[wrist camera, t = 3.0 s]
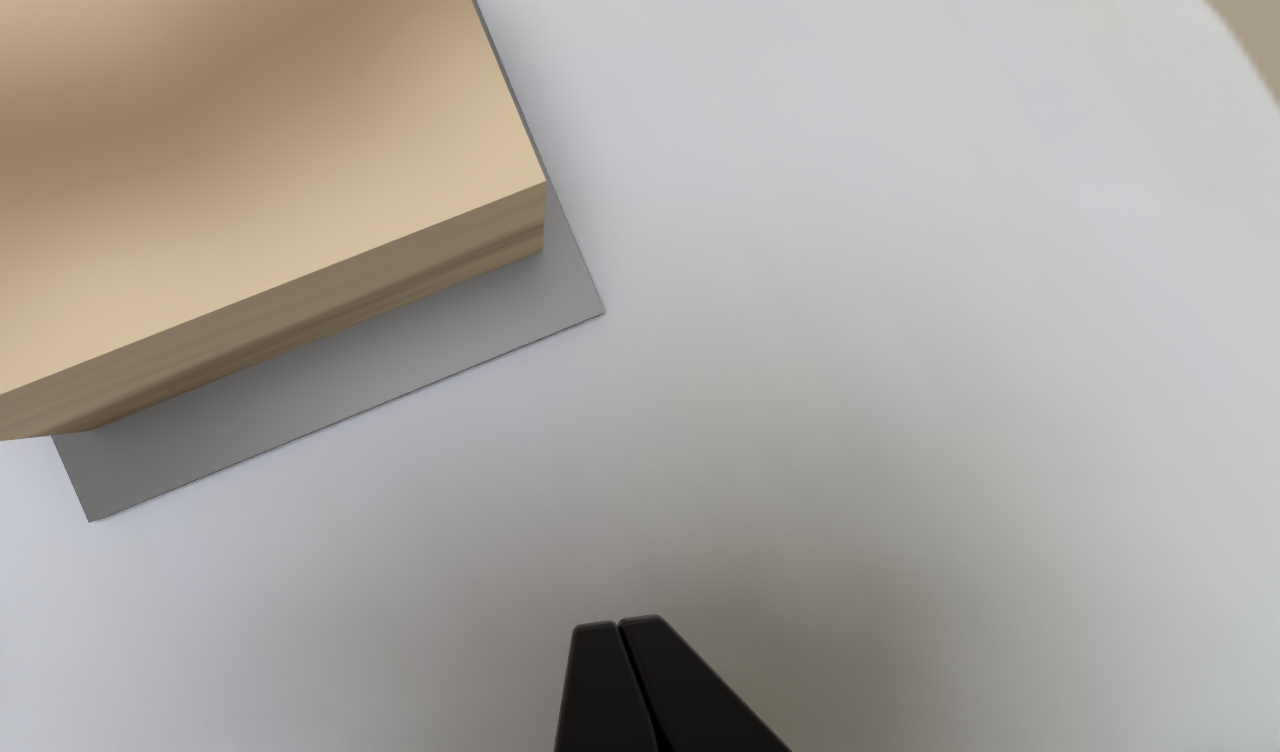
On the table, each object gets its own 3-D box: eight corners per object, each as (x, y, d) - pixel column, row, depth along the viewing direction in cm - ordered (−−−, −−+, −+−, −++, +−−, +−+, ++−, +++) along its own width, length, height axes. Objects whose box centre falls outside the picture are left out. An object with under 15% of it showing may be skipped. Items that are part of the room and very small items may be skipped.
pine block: (542, 250, 23) (546, 180, 15) (89, 431, 22) (-166, 459, 14) (444, 12, 23) (394, -187, 15) (-19, 183, 22) (-342, 68, 14)
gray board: (603, 313, 24) (604, 312, 23) (97, 520, 22) (88, 522, 22) (416, -139, 23) (415, -148, 23) (-111, 46, 22) (-123, 40, 21)
